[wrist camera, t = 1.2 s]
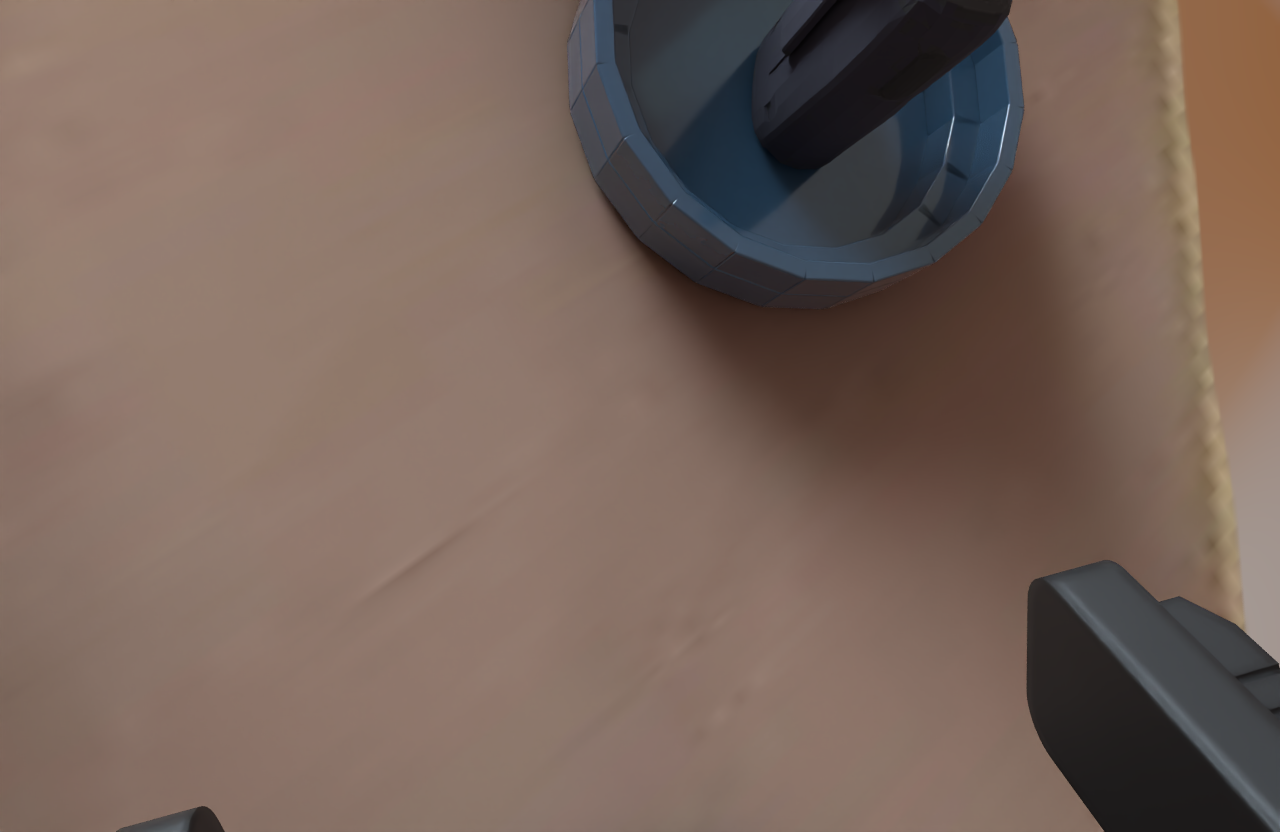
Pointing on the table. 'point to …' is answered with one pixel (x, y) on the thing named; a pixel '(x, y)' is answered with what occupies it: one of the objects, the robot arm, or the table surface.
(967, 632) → the table surface
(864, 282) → the bowl
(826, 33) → the two-way radio
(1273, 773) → the robot arm
